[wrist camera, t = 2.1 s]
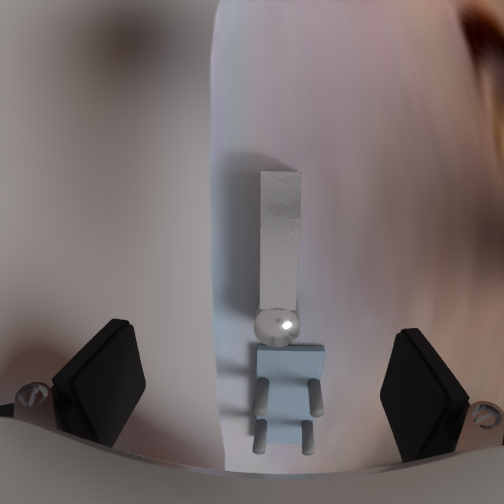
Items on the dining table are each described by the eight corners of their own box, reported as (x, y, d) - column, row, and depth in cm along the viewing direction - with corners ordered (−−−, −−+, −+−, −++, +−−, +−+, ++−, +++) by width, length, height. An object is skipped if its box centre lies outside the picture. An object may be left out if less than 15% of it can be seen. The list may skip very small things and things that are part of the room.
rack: (257, 344, 35) (252, 378, 28) (323, 346, 34) (330, 380, 28) (256, 436, 39) (252, 469, 33) (308, 437, 39) (309, 470, 32)
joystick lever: (258, 171, 30) (254, 171, 25) (303, 172, 29) (307, 172, 25) (257, 325, 34) (253, 346, 30) (296, 327, 34) (298, 348, 29)
